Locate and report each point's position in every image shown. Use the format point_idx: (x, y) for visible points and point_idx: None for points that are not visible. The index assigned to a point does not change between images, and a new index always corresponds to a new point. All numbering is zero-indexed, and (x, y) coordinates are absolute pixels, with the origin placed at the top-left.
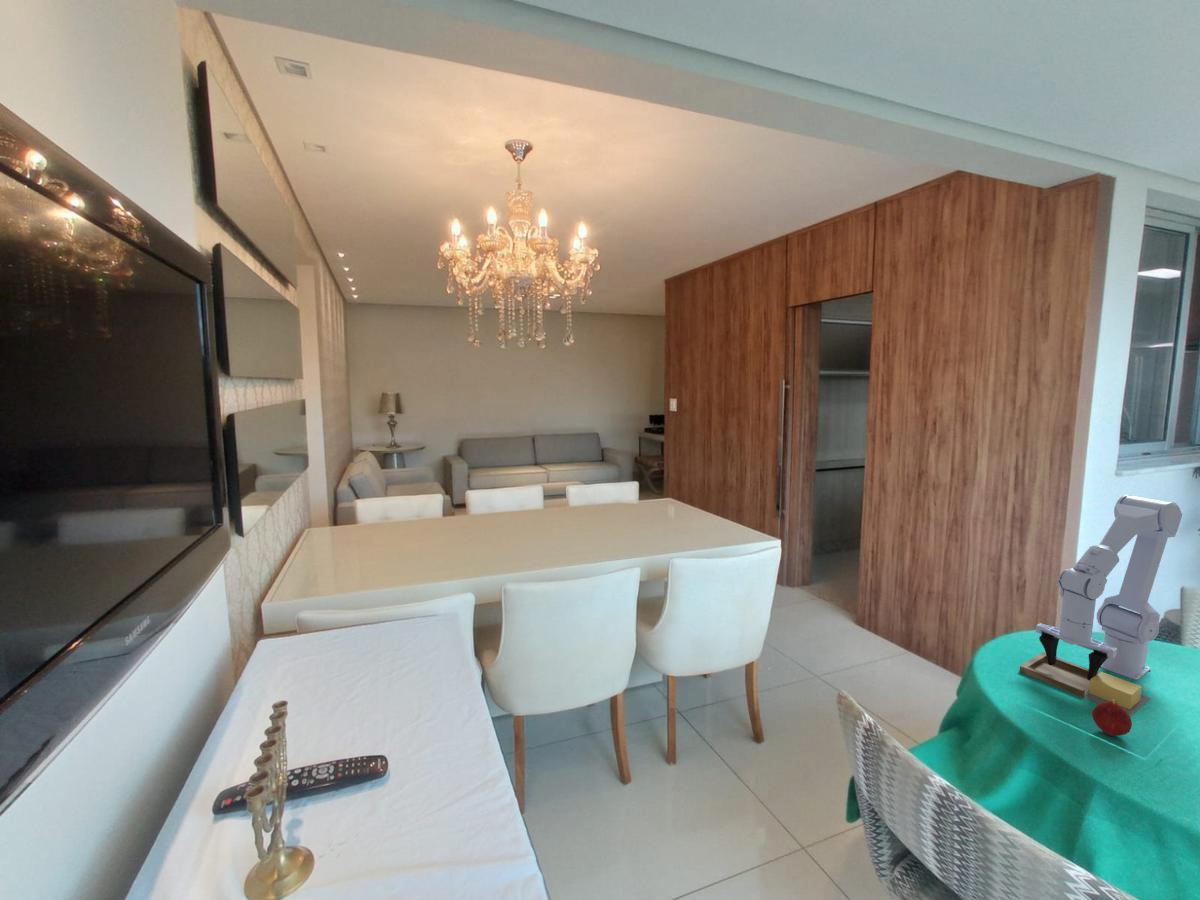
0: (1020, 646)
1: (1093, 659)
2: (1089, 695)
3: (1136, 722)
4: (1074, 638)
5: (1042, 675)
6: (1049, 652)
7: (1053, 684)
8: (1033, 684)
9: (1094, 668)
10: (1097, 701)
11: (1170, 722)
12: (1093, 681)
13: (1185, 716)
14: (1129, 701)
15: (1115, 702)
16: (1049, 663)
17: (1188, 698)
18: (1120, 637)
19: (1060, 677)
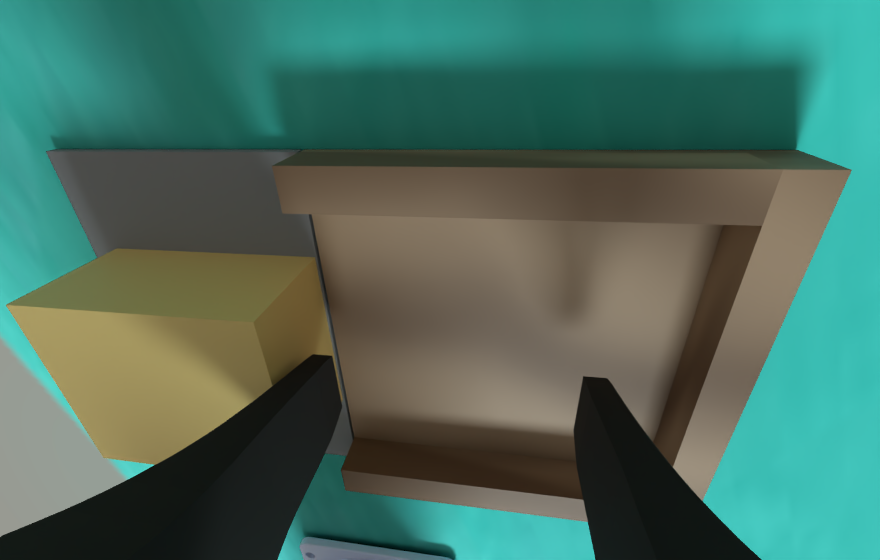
0: (813, 542)
1: (83, 544)
2: (293, 224)
3: (9, 121)
4: None
5: (602, 165)
6: (644, 488)
7: (498, 152)
8: (636, 8)
9: (202, 441)
10: (225, 179)
11: (15, 287)
12: (239, 315)
13: (60, 390)
14: (74, 274)
15: None
16: (604, 387)
17: None
18: None
19: (510, 327)
